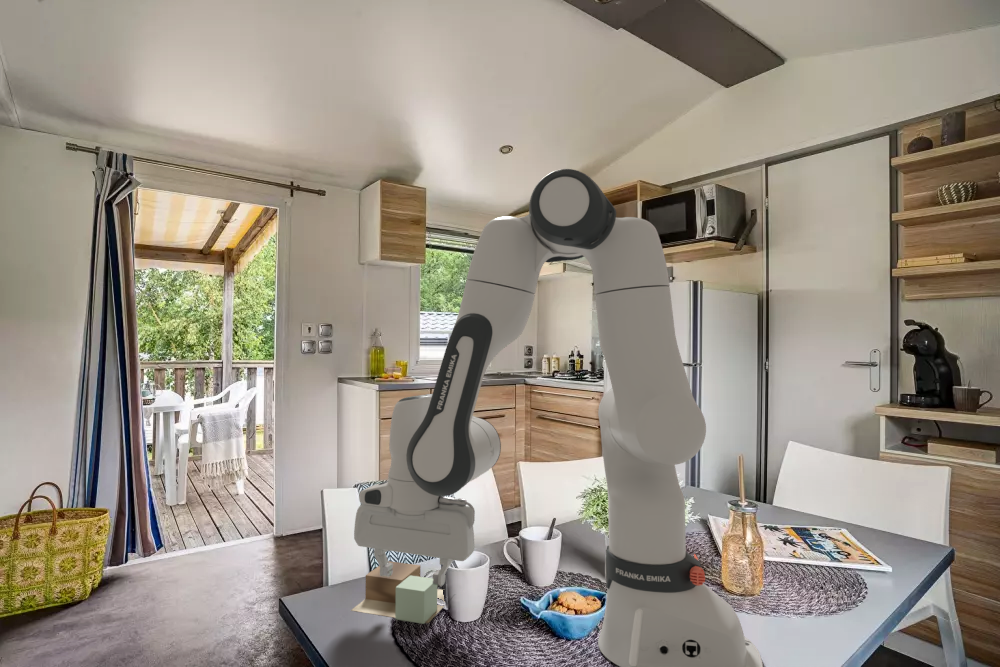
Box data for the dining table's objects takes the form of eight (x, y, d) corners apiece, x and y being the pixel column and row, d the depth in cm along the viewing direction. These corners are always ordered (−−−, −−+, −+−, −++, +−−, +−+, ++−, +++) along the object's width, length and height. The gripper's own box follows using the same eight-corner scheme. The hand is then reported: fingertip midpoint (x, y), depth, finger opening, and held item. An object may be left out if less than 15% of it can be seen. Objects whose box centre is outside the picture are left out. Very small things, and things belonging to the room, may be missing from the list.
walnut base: (420, 587, 100) (420, 565, 100) (401, 604, 93) (402, 580, 93) (385, 582, 102) (386, 560, 102) (365, 598, 95) (365, 575, 95)
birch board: (457, 597, 98) (457, 591, 98) (428, 629, 87) (428, 622, 87) (387, 587, 102) (387, 581, 102) (350, 616, 91) (350, 610, 91)
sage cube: (437, 609, 91) (437, 579, 91) (424, 623, 86) (424, 591, 87) (409, 605, 93) (410, 575, 93) (395, 619, 88) (395, 587, 88)
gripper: (481, 495, 90) (479, 581, 90) (370, 483, 96) (367, 564, 96) (467, 505, 84) (465, 597, 84) (350, 491, 90) (347, 577, 90)
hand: (412, 579), depth 90 cm, fingers open, 8 cm apart
